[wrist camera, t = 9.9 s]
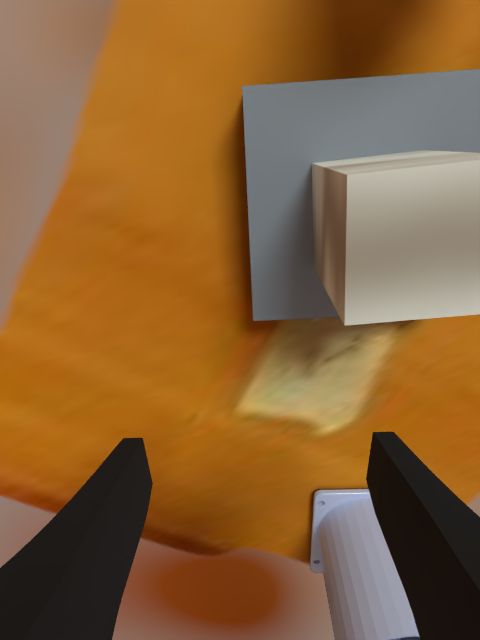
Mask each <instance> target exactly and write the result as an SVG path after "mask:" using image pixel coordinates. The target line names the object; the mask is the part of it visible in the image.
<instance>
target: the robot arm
mask: <svg viewBox="0 0 480 640" xmlns="http://www.w3.org/2000/svg"><path fill="white" fill-rule="evenodd" d="M366 480H367V484H368V488H369V489H341V490H318V491H316V492H315V493H314V501H313V519H312V536H311V554H310V569H311V571H312V572H315V573H323V574H324V580H325V586H326V591H327V597H328V603H329V608H330V614H331V620H332V625H333V631H334V637H335V640H480V517H479V516H478V515H477V514H476V513H474V512H473V511H472V510H471V509H470V508H469V507H468V506H467V505H466V504H465V503H463V502H462V501H461V500H460V499H459V498H458V497H457V496H456V495H455V494H454V493H453V492H452V491H451V490H450V489H449V488H448V487H447V486H446V485H445V484H444V483H443V482H442V481H441V480H440V479H439V478H437V477H436V476H435V475H434V474H433V473H432V472H431V470H430V469H429V468H428V467H427V466H426V465H425V464H424V463H423V462H422V461H421V460H420V459H419V458H418V457H417V456H416V455H415V454H414V453H413V452H412V451H411V450H410V449H409V448H408V447H407V446H406V444H405V443H404V442H403V441H402V440H401V439H400V438H399V437H398V436H397V435H396V434H395V433H394V432H373V436H372V443H371V450H370V457H369V464H368V471H367V478H366ZM151 489H152V479H151V474H150V470H149V465H148V460H147V456H146V451H145V447H144V442H143V438H123V439H122V440H121V442H120V443H119V444H118V445H117V446H116V447H115V449H114V450H113V451H112V452H111V454H110V455H109V456H108V457H107V458H106V460H105V461H104V462H103V463H102V464H101V466H100V467H99V468H98V469H97V470H96V472H95V473H94V474H93V475H92V476H91V477H90V478H89V480H88V481H87V482H86V483H85V484H84V485H83V486H82V488H81V489H80V490H79V491H78V492H77V493H76V494H75V496H74V497H73V498H72V499H71V500H70V501H69V502H68V503H67V504H66V505H65V506H64V507H63V508H62V509H61V510H60V512H59V513H58V514H57V515H56V516H55V517H54V518H53V519H52V520H51V521H50V522H49V523H48V524H47V525H46V526H45V527H44V528H43V529H42V530H41V531H40V532H39V533H38V534H37V535H36V536H35V537H34V538H33V539H32V540H31V541H30V542H29V543H28V544H26V545H25V546H24V547H23V548H22V549H21V550H20V551H19V552H18V553H17V554H16V555H15V556H14V557H12V558H11V559H10V560H9V561H8V562H7V563H6V564H4V565H3V566H2V567H1V568H0V640H112V636H113V632H114V627H115V623H116V618H117V614H118V610H119V606H120V603H121V598H122V595H123V592H124V589H125V585H126V582H127V579H128V576H129V572H130V569H131V566H132V563H133V559H134V556H135V553H136V550H137V546H138V543H139V540H140V537H141V533H142V530H143V527H144V523H145V520H146V516H147V511H148V506H149V501H150V495H151Z"/></svg>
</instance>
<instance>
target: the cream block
mask: <svg viewBox="0 0 480 640" xmlns="http://www.w3.org/2000/svg"><path fill="white" fill-rule="evenodd" d="M312 192H313V241H314V268H315V270H316V272H317V274H318V276H319V278H320V280H321V282H322V284H323V286H324V288H325V289H326V291H327V293H328V295H329V297H330V299H331V301H332V303H333V305H334V307H335V308H336V310H337V312H338V314H339V316H340V318H341V320H342V322H343V324H344V326H347V325H358V324H370V323H382V322H393V321H405V320H417V319H428V318H440V317H452V316H464V315H475V314H480V153H473V152H451V151H429V150H422V151H413V152H405V153H396V154H387V155H379V156H370V157H361V158H353V159H344V160H335V161H327V162H318V163H312Z"/></svg>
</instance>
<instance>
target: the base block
mask: <svg viewBox="0 0 480 640" xmlns="http://www.w3.org/2000/svg"><path fill="white" fill-rule="evenodd" d="M242 93H243V114H244V135H245V156H246V178H247V199H248V220H249V241H250V263H251V284H252V305H253V321H266V320H290V319H314V318H337V317H340V316H339V314H338V312H337V310H336V308H335V307H334V305H333V303H332V301H331V299H330V297H329V295H328V293H327V291H326V289H325V288H324V286H323V284H322V282H321V280H320V278H319V276H318V274H317V272H316V270H315V268H314V241H313V192H312V163H318V162H327V161H335V160H344V159H353V158H361V157H370V156H379V155H387V154H396V153H405V152H413V151H422V150H429V151H451V152H473V153H480V69H474V70H460V71H446V72H432V73H418V74H404V75H390V76H377V77H363V78H349V79H335V80H321V81H307V82H293V83H279V84H265V85H251V86H242Z"/></svg>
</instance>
